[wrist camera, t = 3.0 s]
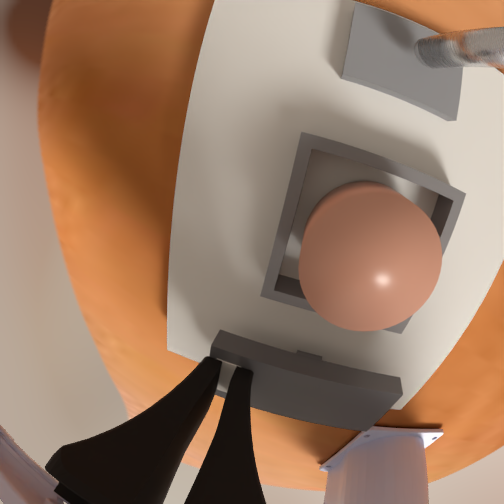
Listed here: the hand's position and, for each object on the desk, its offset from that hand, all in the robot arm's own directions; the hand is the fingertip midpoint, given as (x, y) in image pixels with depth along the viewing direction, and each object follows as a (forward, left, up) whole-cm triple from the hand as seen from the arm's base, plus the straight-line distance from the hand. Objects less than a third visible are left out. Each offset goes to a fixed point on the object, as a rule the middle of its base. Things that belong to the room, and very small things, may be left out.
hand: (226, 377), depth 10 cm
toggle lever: (+13, -3, -2) cm, 13 cm away
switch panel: (+6, -3, -4) cm, 8 cm away
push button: (+6, -3, -1) cm, 7 cm away
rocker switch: (0, -3, -1) cm, 3 cm away
